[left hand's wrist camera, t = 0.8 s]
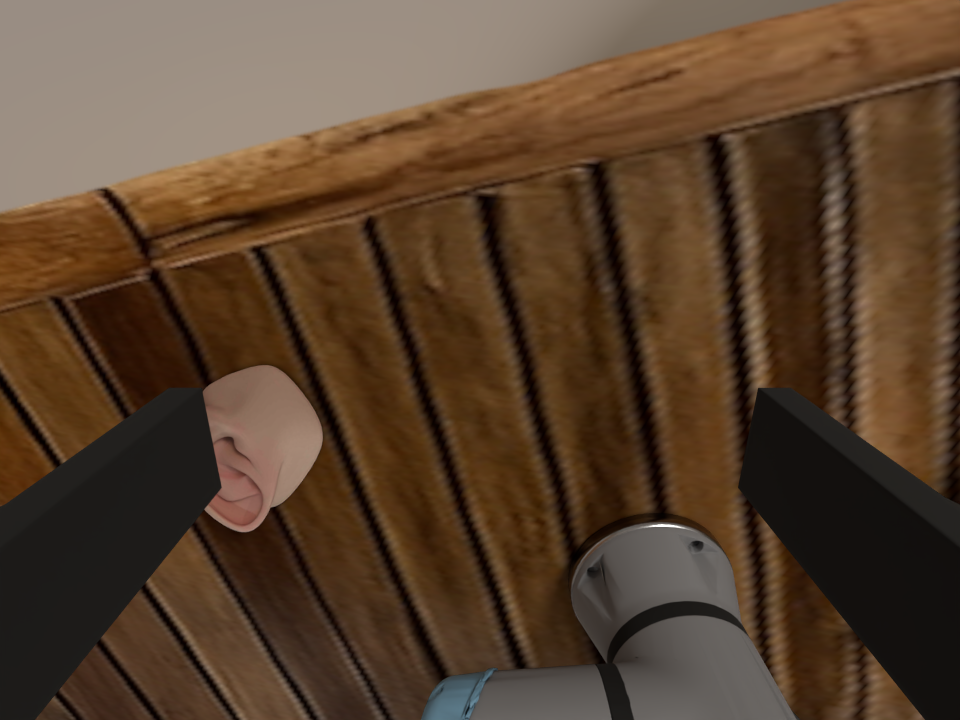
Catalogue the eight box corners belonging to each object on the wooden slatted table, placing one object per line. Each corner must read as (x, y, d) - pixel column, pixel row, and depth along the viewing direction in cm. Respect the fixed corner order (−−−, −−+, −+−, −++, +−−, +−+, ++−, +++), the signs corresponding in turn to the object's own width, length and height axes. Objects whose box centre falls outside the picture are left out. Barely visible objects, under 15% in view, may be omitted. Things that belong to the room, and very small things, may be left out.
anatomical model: (224, 359, 38) (345, 454, 41) (246, 341, 42) (356, 430, 45) (128, 469, 42) (246, 549, 45) (157, 443, 45) (264, 519, 48)
